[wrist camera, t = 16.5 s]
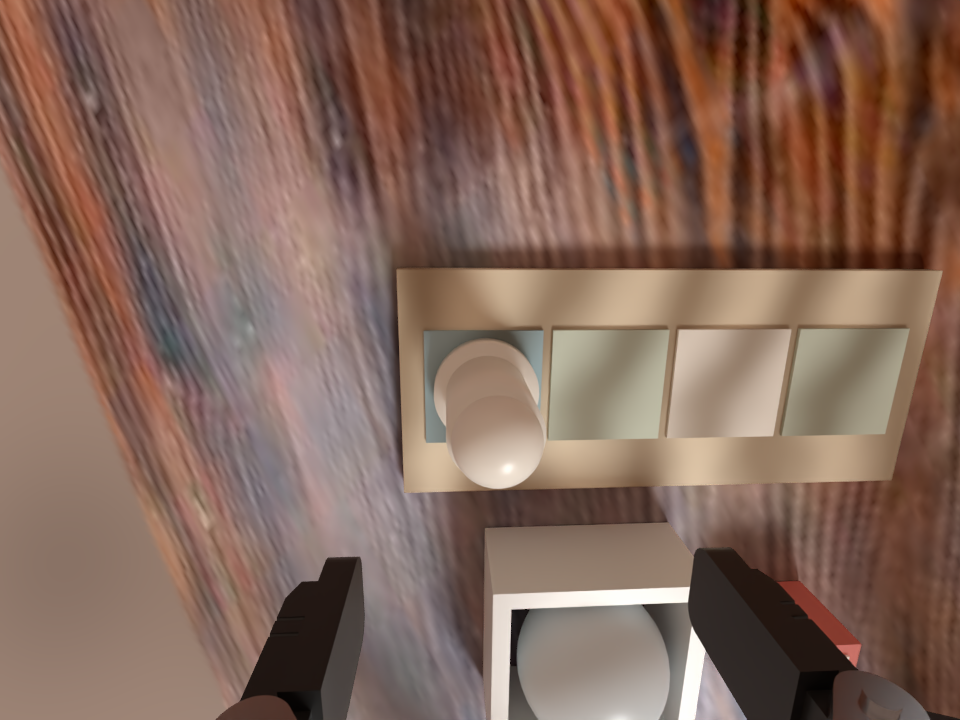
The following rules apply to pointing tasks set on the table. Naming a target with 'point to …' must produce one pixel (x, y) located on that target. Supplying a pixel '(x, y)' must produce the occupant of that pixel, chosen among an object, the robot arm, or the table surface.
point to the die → (824, 619)
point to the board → (677, 370)
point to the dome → (593, 663)
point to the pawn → (490, 412)
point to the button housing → (588, 597)
